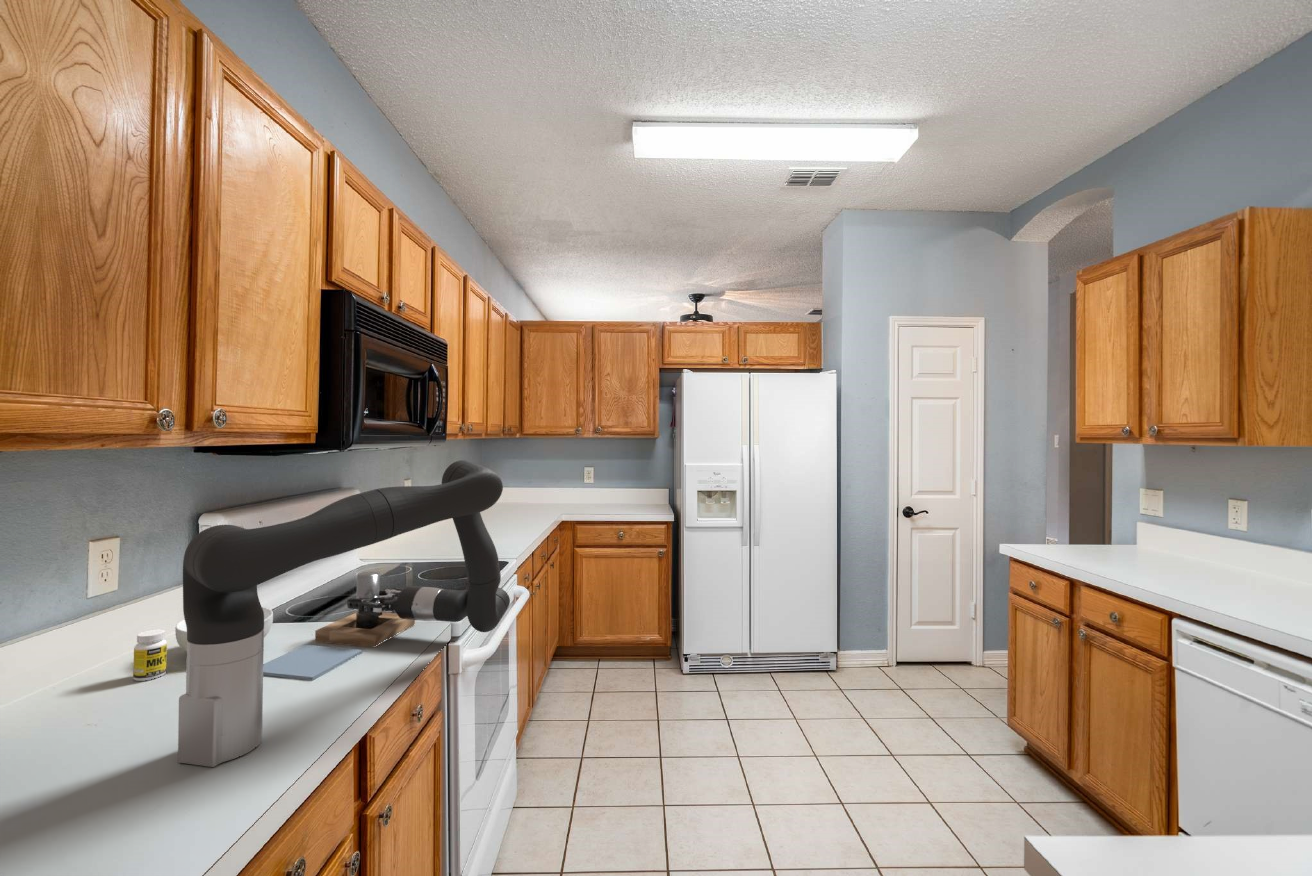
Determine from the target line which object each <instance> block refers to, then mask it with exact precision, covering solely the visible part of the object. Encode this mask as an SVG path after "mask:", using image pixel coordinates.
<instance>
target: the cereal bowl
mask: <svg viewBox="0 0 1312 876" xmlns="http://www.w3.org/2000/svg"><path fill="white" fill-rule="evenodd" d="M261 607H262V609H263V611H264V638H265V637H267V635H268V634H269V633H270V631H271V629H272V627H273V622H274V613H273V610H272V609H271V608H267V607H264V606H261ZM175 639H176V643H177V644H178V645H179V647H180V648H181V649H182V650H184V651H185V652H187V627H186V622H185V618H184V619H181V620H180V621H178V623H177V624H176V625H175Z"/></svg>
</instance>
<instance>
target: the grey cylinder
mask: <svg viewBox="0 0 1312 876" xmlns="http://www.w3.org/2000/svg"><path fill="white" fill-rule="evenodd" d="M380 575H381V574H380V572H378V571H365V572H359V573H357V574H356V596H355V597H356V598H357V599H372V598H373V597H374V596H379V590H380V581H381V580H380ZM377 603H379V600H377ZM355 610H356V611H355V613H356V627H355V628H363V629H373V628H375V627H377V626H379V616H376V615H367V614H358V609H355Z"/></svg>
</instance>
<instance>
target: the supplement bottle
mask: <svg viewBox="0 0 1312 876" xmlns="http://www.w3.org/2000/svg"><path fill="white" fill-rule="evenodd" d="M165 633H166V632H165V630H164V629H159V628H158V629H150V630H146V631H142V632H139V633H138V634H137V635H136V643H137V644H136V645H135V646H134V647H133V665H132V666H133V669H132V671H133V674H132V675H133V677H132V678H133V680H134V681H137V682H145V680H147V681H152V680H155V679H154V678H156V679H158V677H159V678H161V677H162V676H164V675H165V674H166V673H167V660H168V659H167V657H168V655H167V654H168V653H167V652H168V642H167V640H166V639H165V638H166V634H165ZM160 676H161V677H160ZM151 679H152V680H151Z"/></svg>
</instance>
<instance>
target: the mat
mask: <svg viewBox="0 0 1312 876" xmlns="http://www.w3.org/2000/svg"><path fill="white" fill-rule="evenodd" d="M361 654H363V650H362V649H352V648H344V647H343V648H342V647H333V646H332V647H331V646H323V645H313V644H311V645H310V644H303V645H301V646H300V647H297V648H295V649H293V650H291V651H288V652H286V653H284V654H282V655H280V656H277V657H276V658H273V659H271V660H269V661H267V662H265V663H263V676H267V675H268V677H275V678H276V677H278V678H288V679H295V680H303V681H304V680H306V681H314V680H316V679H318V678H319V676H320V677H322V676H323V675H325V674H327V673H328V671H329V672H330V670H331V671H332V670H334V669H336V668H337V666H338V667H339V665H340V666H341V665H343V664H346V663H347V662H349V661H350V660H352V659H355V658H356V657H358V656H359V655H361ZM357 655H358V656H357ZM355 656H356V657H355ZM351 658H352V659H351ZM348 660H349V661H348ZM335 667H336V668H335Z"/></svg>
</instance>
